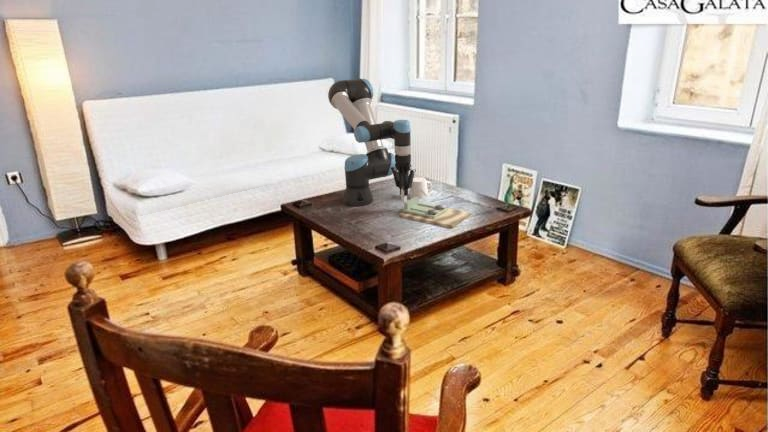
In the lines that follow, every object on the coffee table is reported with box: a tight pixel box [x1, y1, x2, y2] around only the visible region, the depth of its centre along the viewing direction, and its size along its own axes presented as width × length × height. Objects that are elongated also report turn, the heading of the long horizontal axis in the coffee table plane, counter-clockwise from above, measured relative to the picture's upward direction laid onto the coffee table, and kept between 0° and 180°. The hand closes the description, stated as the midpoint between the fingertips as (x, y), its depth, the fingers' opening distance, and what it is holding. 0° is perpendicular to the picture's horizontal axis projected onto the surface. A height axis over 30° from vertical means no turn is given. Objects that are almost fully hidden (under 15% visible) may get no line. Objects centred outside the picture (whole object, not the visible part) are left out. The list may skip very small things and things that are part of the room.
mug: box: [408, 176, 433, 200], centre depth 259 cm, size 12×9×8 cm
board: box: [399, 204, 472, 229], centre depth 234 cm, size 28×18×4 cm, turn 55°
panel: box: [402, 197, 448, 218], centre depth 236 cm, size 17×12×4 cm
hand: (404, 201), depth 242 cm, fingers closed
